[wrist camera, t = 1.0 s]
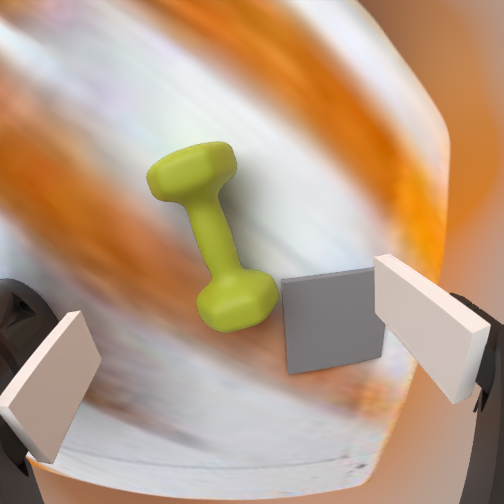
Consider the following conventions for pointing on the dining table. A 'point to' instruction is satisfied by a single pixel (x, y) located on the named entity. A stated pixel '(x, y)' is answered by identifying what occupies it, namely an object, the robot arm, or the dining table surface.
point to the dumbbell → (214, 235)
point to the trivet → (331, 320)
